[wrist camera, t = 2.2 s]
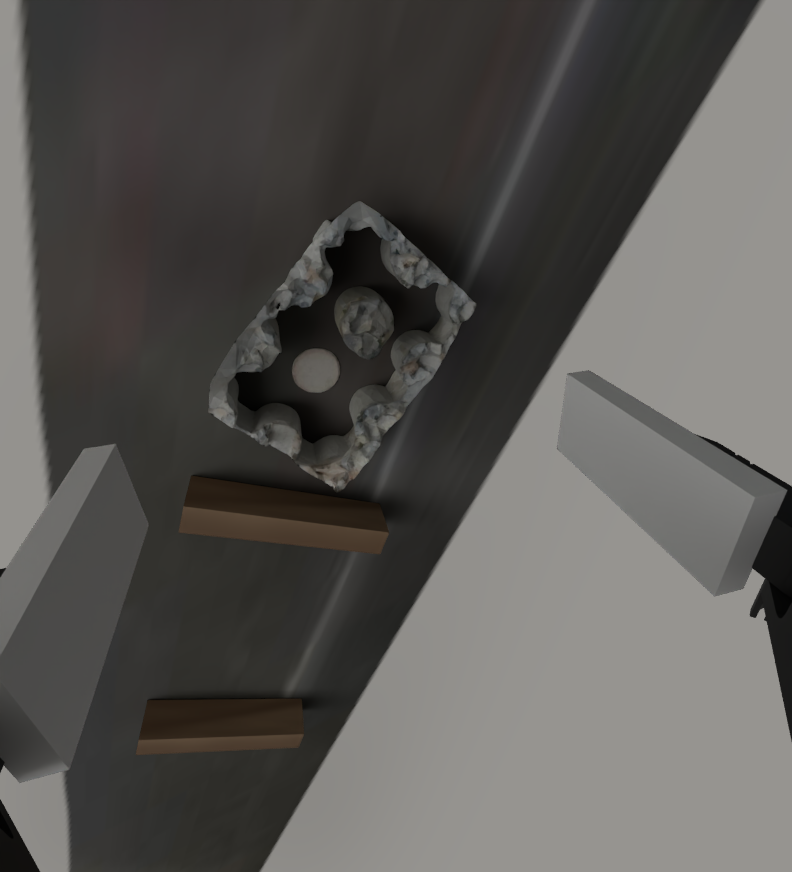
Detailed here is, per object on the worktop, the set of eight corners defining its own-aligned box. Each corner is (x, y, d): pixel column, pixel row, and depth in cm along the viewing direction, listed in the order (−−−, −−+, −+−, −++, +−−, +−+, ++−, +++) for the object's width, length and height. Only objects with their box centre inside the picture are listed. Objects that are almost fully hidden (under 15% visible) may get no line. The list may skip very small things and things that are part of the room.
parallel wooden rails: (191, 475, 23) (183, 506, 21) (379, 503, 27) (389, 532, 25) (144, 714, 31) (135, 755, 29) (296, 711, 34) (298, 747, 32)
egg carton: (326, 458, 25) (335, 505, 21) (195, 377, 21) (181, 419, 18) (468, 301, 22) (504, 326, 19) (347, 179, 19) (364, 182, 15)
